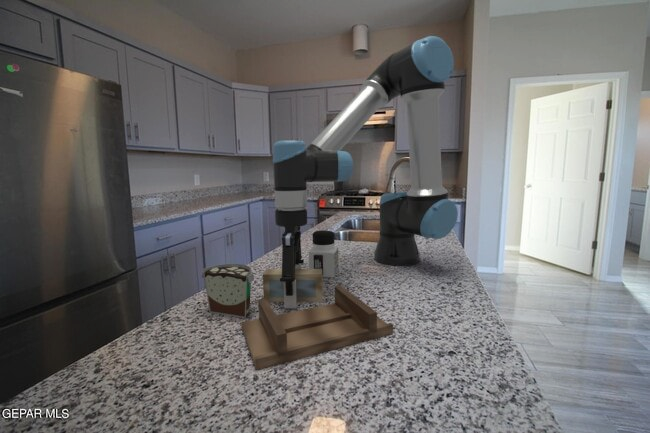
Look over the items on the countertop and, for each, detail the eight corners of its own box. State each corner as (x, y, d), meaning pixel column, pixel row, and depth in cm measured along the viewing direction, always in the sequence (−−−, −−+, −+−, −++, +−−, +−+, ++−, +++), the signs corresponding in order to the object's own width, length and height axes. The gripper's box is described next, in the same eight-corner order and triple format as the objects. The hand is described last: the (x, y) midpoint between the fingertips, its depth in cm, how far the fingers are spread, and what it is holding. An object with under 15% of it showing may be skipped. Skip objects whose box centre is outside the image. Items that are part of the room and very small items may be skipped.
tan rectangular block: (322, 295, 79) (322, 268, 77) (322, 302, 74) (321, 274, 73) (267, 295, 79) (266, 268, 78) (263, 302, 75) (262, 274, 74)
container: (334, 278, 90) (333, 234, 88) (308, 276, 92) (307, 233, 90) (338, 269, 98) (338, 228, 96) (314, 268, 99) (313, 228, 97)
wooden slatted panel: (354, 303, 73) (354, 282, 72) (392, 333, 59) (393, 308, 59) (241, 326, 63) (240, 303, 62) (256, 369, 49) (254, 340, 49)
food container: (266, 307, 72) (264, 265, 71) (251, 319, 66) (249, 273, 65) (221, 300, 76) (218, 260, 75) (204, 311, 70) (200, 268, 69)
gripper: (283, 203, 85) (285, 280, 88) (264, 215, 62) (268, 319, 65) (310, 202, 85) (312, 280, 88) (301, 215, 62) (304, 320, 65)
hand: (293, 297), depth 77 cm, fingers open, 11 cm apart
